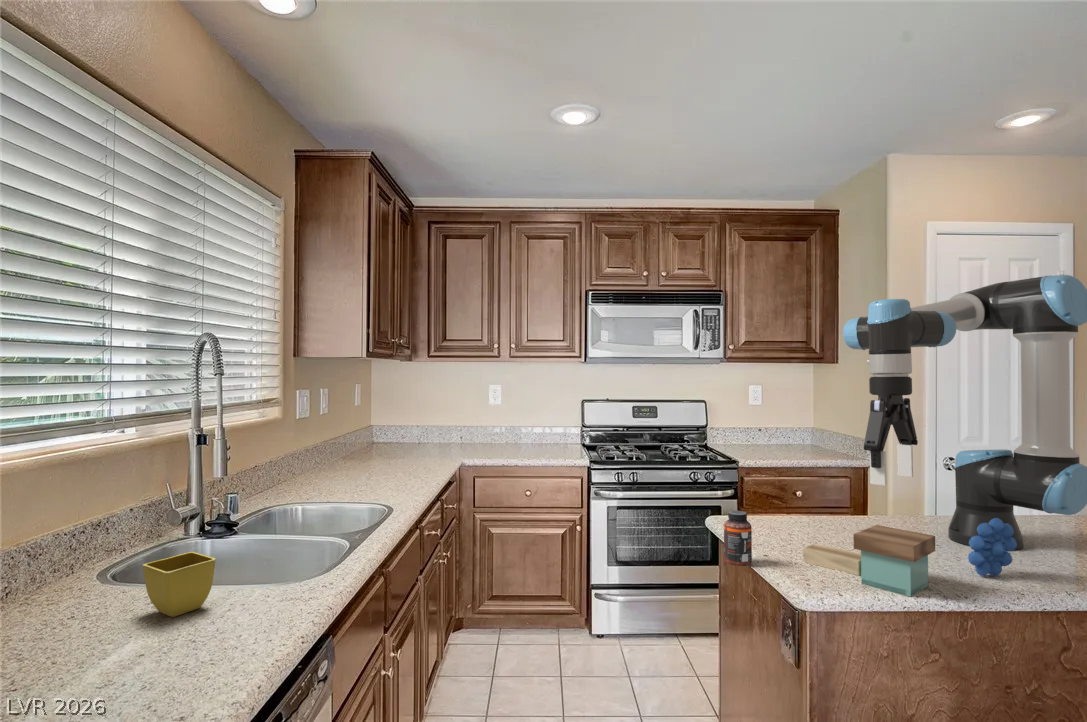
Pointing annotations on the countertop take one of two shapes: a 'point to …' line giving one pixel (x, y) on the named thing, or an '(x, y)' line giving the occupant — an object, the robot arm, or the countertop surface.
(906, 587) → the teal open box
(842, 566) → the wooden block
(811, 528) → the countertop surface
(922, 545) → the lid
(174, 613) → the flower pot
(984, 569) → the grapes
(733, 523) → the supplement bottle
